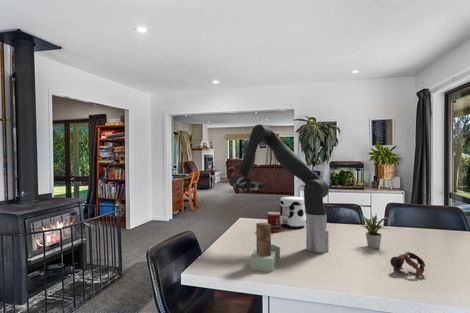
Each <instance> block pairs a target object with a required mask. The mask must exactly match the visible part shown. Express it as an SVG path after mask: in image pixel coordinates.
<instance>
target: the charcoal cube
mask: <svg viewBox="0 0 470 313" xmlns="http://www.w3.org/2000/svg"><path fill="white" fill-rule="evenodd" d="M271 251H273V252H276V261H277V260H281V247H279V246H277V245H276V244H271Z"/></svg>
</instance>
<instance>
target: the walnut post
mask: <svg viewBox="0 0 470 313" xmlns="http://www.w3.org/2000/svg"><path fill="white" fill-rule="evenodd" d="M255 224H256V225H255V226H256V227H255V229H256V232H255V233H256V234H255V235H256V239H255V240H256V250H257V254H258V255H260V256H267V255H271V245H272V238H271V237H272V234H271V225H270V224H268V222H257V223H255Z"/></svg>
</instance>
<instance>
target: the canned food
mask: <svg viewBox="0 0 470 313" xmlns="http://www.w3.org/2000/svg"><path fill="white" fill-rule="evenodd" d="M266 214H267V217H266V218H267V221H266V222H267V223H268V224H270V225H271V233H272V234H277V233H280V232H281V224H280V211H279V212H278V211H268V212H267V213H266Z"/></svg>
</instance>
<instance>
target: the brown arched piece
mask: <svg viewBox="0 0 470 313" xmlns="http://www.w3.org/2000/svg"><path fill="white" fill-rule="evenodd" d="M413 260H414V261H413ZM415 260H416V261H417V262H415ZM389 262H390V265H391V266H392V267H393V270H394V271H397V272H400V270H401V268H403V265H404V264H405V263H406V264H407V265H409V266H410V267H412V268H413V269H414V270H416V271H415V273H414V276H415V277H420V276H421V275H423V273H424V272H425V267H426V263H425V261H424V260H423V259H422V258H421V257H420V256H418V255H416V254H415V253H413V252H410V251H406V252H405V253H402V254H400V255H398V256H393V257H391V258H390V261H389Z"/></svg>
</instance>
